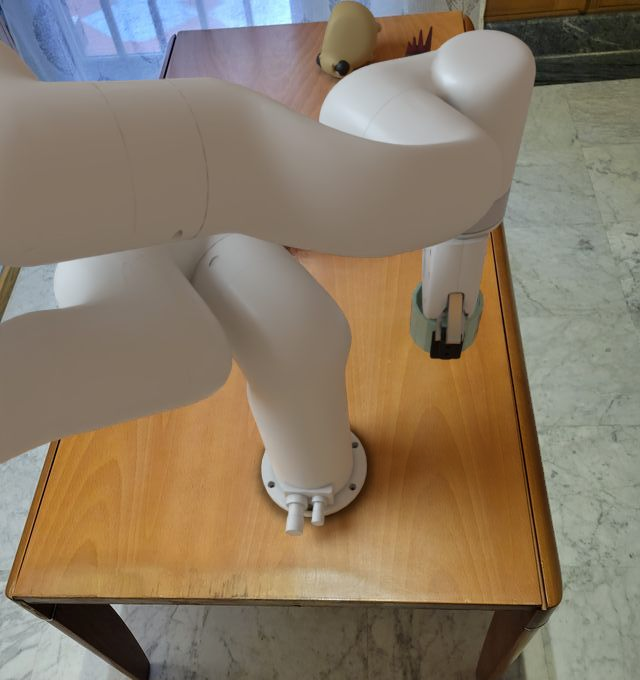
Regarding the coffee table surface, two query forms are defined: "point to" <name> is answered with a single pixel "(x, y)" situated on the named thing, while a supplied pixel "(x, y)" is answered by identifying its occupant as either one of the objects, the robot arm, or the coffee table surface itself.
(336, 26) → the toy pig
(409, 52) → the wooden figurine
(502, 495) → the coffee table surface
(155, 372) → the robot arm
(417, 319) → the bowl
